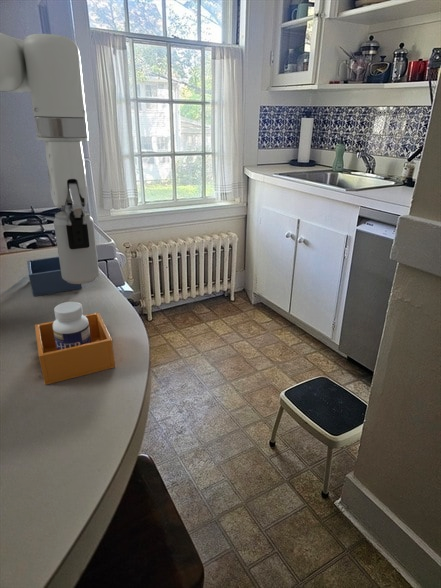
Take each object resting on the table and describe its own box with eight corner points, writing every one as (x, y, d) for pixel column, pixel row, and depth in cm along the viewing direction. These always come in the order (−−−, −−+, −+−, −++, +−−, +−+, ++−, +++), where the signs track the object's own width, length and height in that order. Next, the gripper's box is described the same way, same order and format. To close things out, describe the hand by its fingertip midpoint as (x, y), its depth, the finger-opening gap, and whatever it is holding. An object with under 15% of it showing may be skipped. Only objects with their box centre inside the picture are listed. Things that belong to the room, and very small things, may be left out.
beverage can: (97, 285, 68) (90, 217, 63) (58, 286, 67) (48, 217, 62) (101, 272, 74) (94, 208, 69) (65, 273, 73) (56, 209, 68)
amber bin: (45, 385, 57) (38, 356, 55) (40, 350, 66) (34, 324, 63) (115, 367, 61) (111, 339, 59) (102, 337, 70) (99, 312, 68)
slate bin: (33, 296, 85) (28, 275, 83) (31, 280, 93) (26, 260, 91) (82, 288, 89) (78, 267, 87) (75, 273, 98) (72, 254, 95)
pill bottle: (52, 364, 61) (42, 314, 57) (66, 346, 66) (58, 299, 62) (86, 366, 61) (77, 315, 57) (97, 347, 65) (90, 300, 62)
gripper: (32, 127, 66) (48, 231, 73) (39, 132, 52) (58, 260, 59) (79, 128, 69) (90, 227, 77) (97, 133, 55) (108, 254, 62)
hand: (76, 241), depth 68 cm, fingers closed on beverage can, 6 cm apart
